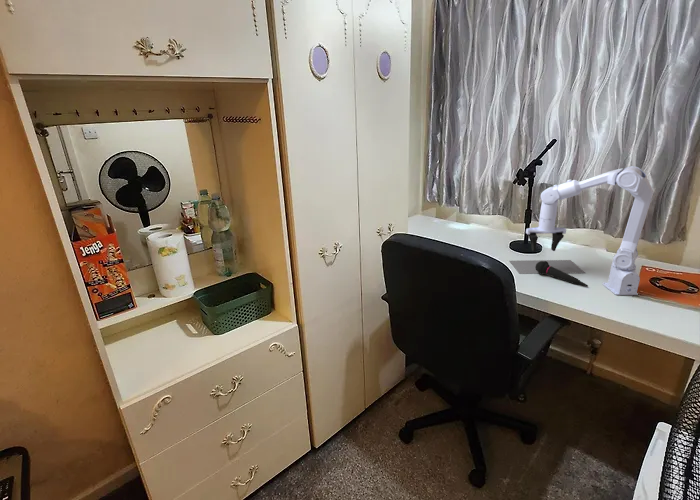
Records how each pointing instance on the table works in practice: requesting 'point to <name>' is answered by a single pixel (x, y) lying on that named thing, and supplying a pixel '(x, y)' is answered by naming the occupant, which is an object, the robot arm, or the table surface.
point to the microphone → (556, 273)
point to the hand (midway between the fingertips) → (543, 250)
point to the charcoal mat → (561, 265)
